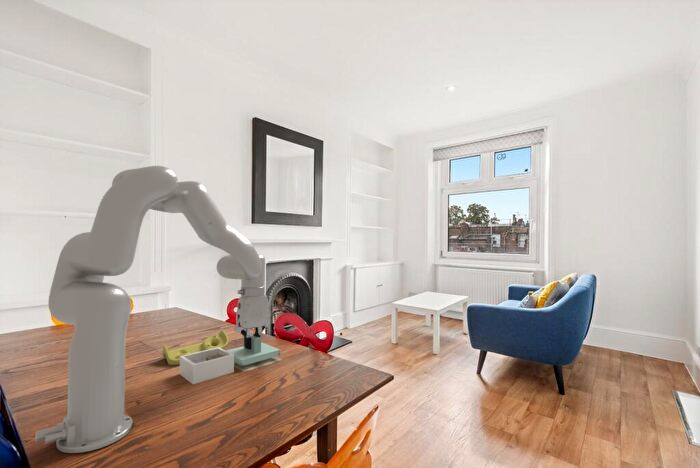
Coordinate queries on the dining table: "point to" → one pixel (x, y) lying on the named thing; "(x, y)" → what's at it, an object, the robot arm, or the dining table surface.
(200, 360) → the steel block
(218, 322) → the dining table surface
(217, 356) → the walnut block
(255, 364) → the board
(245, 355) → the lid
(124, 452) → the dining table surface
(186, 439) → the dining table surface
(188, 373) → the tub
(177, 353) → the plastic component
